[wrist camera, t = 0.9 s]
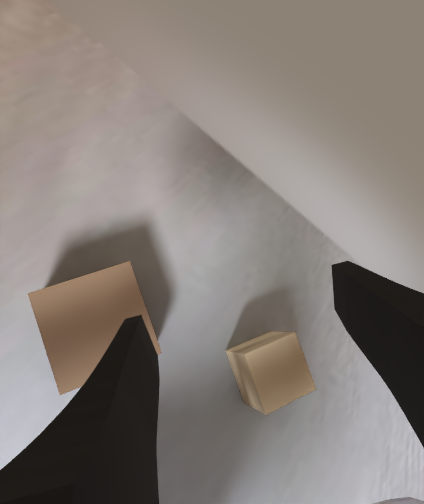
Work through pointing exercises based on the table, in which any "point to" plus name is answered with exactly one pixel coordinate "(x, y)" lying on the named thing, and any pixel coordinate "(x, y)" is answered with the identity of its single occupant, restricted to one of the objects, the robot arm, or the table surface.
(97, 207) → the table surface
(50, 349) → the tan wooden block
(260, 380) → the beech cube
